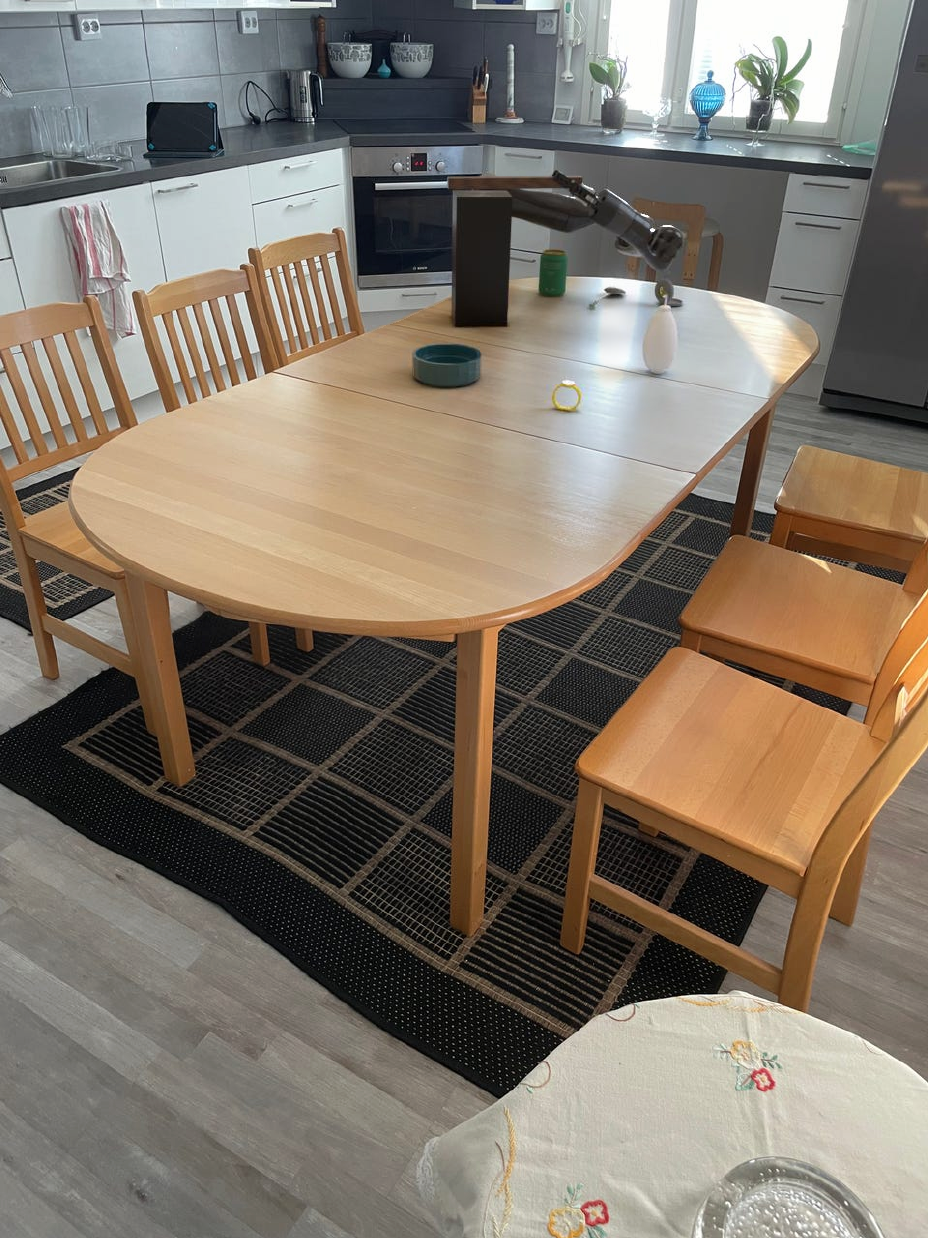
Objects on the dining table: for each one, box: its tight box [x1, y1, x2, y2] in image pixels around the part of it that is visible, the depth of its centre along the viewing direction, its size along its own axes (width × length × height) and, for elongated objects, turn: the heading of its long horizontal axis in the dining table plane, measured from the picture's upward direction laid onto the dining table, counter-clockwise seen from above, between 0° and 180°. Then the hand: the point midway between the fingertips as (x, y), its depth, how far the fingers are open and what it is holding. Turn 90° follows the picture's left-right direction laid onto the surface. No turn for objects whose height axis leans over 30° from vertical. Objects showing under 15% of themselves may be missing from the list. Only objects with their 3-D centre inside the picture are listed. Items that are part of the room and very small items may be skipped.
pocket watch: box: [654, 269, 683, 307], centre depth 271 cm, size 8×8×10 cm
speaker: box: [450, 189, 513, 328], centre depth 246 cm, size 14×10×32 cm
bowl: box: [411, 343, 483, 388], centre depth 214 cm, size 16×16×6 cm
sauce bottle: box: [641, 293, 679, 375], centre depth 216 cm, size 8×8×18 cm
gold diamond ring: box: [551, 379, 582, 412], centre depth 198 cm, size 6×3×6 cm, turn 75°
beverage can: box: [538, 248, 569, 298], centre depth 278 cm, size 8×8×12 cm
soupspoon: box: [588, 286, 627, 310], centre depth 275 cm, size 22×3×7 cm
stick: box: [446, 175, 584, 190], centre depth 223 cm, size 32×2×2 cm, turn 97°
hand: (554, 174), depth 223 cm, fingers closed on stick, 2 cm apart
